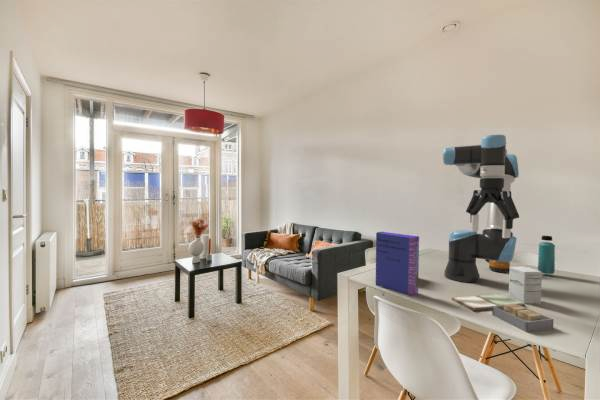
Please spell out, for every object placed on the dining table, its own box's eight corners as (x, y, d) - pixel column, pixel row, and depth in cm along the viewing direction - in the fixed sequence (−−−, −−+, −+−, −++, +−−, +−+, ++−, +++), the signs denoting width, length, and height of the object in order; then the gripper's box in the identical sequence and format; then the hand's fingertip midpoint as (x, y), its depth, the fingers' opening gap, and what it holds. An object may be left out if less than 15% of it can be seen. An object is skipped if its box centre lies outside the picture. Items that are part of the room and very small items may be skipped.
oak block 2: (517, 322, 92) (517, 310, 92) (527, 321, 93) (528, 309, 93) (529, 328, 88) (530, 316, 88) (540, 327, 89) (540, 314, 89)
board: (451, 300, 111) (451, 297, 111) (498, 296, 116) (498, 293, 116) (474, 313, 101) (474, 308, 100) (525, 307, 105) (525, 303, 105)
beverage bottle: (557, 277, 141) (559, 237, 140) (542, 276, 142) (543, 236, 142) (549, 273, 147) (550, 235, 147) (534, 272, 149) (535, 234, 148)
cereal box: (418, 293, 120) (419, 236, 119) (412, 296, 116) (413, 237, 115) (381, 282, 133) (382, 231, 132) (375, 285, 129) (376, 232, 129)
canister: (510, 274, 146) (511, 235, 146) (484, 270, 152) (485, 233, 151) (508, 269, 154) (509, 232, 153) (484, 266, 160) (485, 231, 159)
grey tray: (492, 316, 98) (492, 306, 98) (516, 313, 100) (516, 303, 100) (526, 333, 86) (526, 322, 86) (553, 330, 88) (553, 319, 88)
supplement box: (507, 297, 115) (508, 266, 114) (524, 297, 116) (525, 266, 115) (523, 305, 108) (524, 271, 107) (541, 304, 108) (542, 271, 108)
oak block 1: (503, 316, 97) (503, 304, 97) (513, 315, 98) (513, 303, 98) (514, 321, 93) (515, 309, 93) (524, 320, 94) (525, 308, 94)
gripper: (457, 178, 117) (455, 229, 119) (516, 176, 93) (513, 241, 94) (472, 178, 119) (470, 228, 120) (534, 177, 95) (531, 240, 96)
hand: (489, 234), depth 107 cm, fingers open, 13 cm apart
